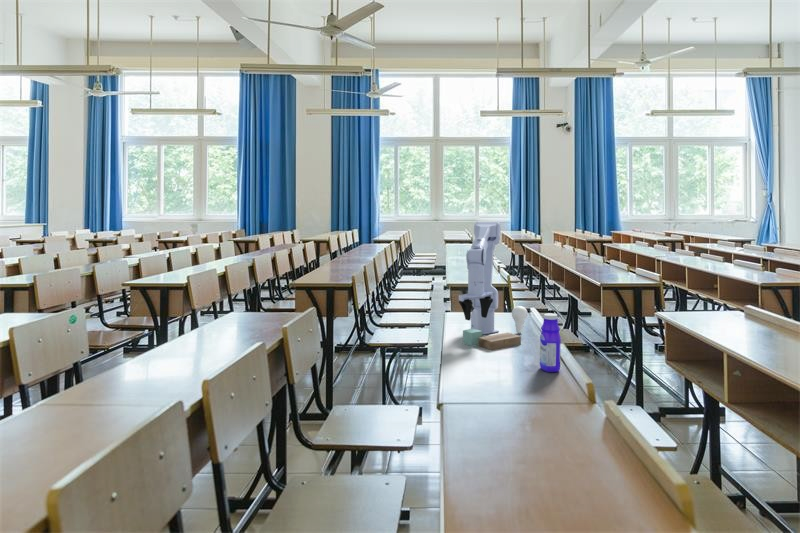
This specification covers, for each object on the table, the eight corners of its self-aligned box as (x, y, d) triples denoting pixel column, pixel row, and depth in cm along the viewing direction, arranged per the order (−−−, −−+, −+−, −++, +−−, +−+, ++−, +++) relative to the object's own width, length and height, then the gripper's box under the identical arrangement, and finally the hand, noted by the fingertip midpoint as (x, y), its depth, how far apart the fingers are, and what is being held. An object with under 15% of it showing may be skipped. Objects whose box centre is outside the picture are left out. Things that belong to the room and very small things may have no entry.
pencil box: (478, 345, 200) (478, 337, 200) (507, 340, 207) (507, 332, 207) (491, 350, 194) (491, 341, 194) (521, 344, 201) (521, 336, 201)
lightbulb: (526, 331, 220) (526, 304, 219) (528, 335, 214) (528, 307, 213) (510, 331, 221) (510, 304, 220) (512, 335, 215) (512, 307, 214)
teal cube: (462, 343, 204) (462, 330, 204) (473, 341, 207) (473, 328, 206) (471, 346, 200) (471, 332, 199) (482, 344, 202) (482, 331, 202)
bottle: (536, 366, 174) (537, 312, 172) (554, 365, 175) (555, 311, 173) (544, 373, 167) (545, 317, 165) (563, 372, 168) (564, 316, 166)
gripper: (467, 284, 193) (467, 323, 195) (498, 281, 201) (498, 318, 202) (455, 282, 199) (455, 319, 201) (485, 279, 207) (485, 314, 208)
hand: (476, 318), depth 202 cm, fingers open, 7 cm apart
